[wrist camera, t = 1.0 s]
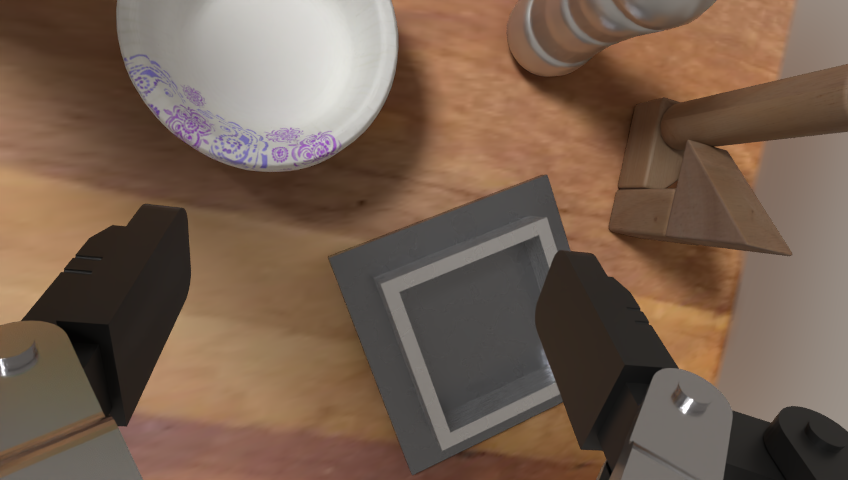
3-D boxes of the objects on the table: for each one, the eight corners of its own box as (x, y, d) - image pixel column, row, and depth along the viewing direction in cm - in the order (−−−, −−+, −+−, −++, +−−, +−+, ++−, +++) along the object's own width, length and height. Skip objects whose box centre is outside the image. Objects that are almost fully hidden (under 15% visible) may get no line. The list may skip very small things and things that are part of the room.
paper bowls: (382, -32, 39) (406, -88, 31) (373, 180, 40) (394, 177, 32) (150, -70, 35) (112, -144, 27) (147, 167, 36) (109, 159, 28)
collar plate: (327, 256, 39) (332, 263, 35) (541, 175, 43) (566, 173, 39) (409, 468, 42) (421, 496, 38) (602, 375, 46) (631, 392, 42)
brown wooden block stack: (605, 230, 45) (808, 253, 27) (633, 103, 45) (856, 45, 27) (642, 238, 46) (861, 266, 28) (670, 114, 45) (907, 65, 28)
